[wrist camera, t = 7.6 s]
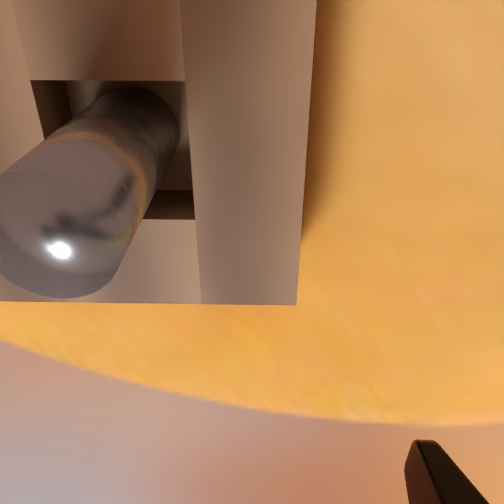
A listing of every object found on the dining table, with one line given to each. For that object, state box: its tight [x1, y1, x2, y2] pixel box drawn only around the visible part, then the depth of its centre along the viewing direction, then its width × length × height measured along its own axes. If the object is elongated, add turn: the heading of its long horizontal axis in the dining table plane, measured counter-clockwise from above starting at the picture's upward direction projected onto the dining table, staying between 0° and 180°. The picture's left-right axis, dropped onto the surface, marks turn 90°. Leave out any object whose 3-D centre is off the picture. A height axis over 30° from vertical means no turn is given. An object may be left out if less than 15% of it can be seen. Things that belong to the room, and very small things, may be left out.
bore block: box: [0, 0, 317, 305], centre depth 16 cm, size 12×12×4 cm
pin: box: [0, 85, 179, 299], centre depth 13 cm, size 3×3×8 cm
